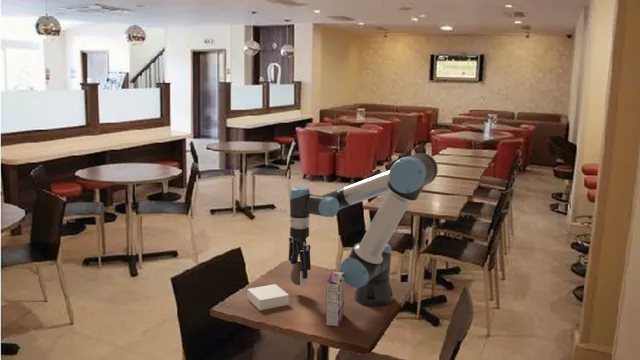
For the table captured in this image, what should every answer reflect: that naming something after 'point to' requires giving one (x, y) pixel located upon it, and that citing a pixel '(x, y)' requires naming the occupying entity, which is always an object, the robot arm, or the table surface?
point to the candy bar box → (335, 299)
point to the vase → (296, 273)
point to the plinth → (267, 297)
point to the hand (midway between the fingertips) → (299, 282)
